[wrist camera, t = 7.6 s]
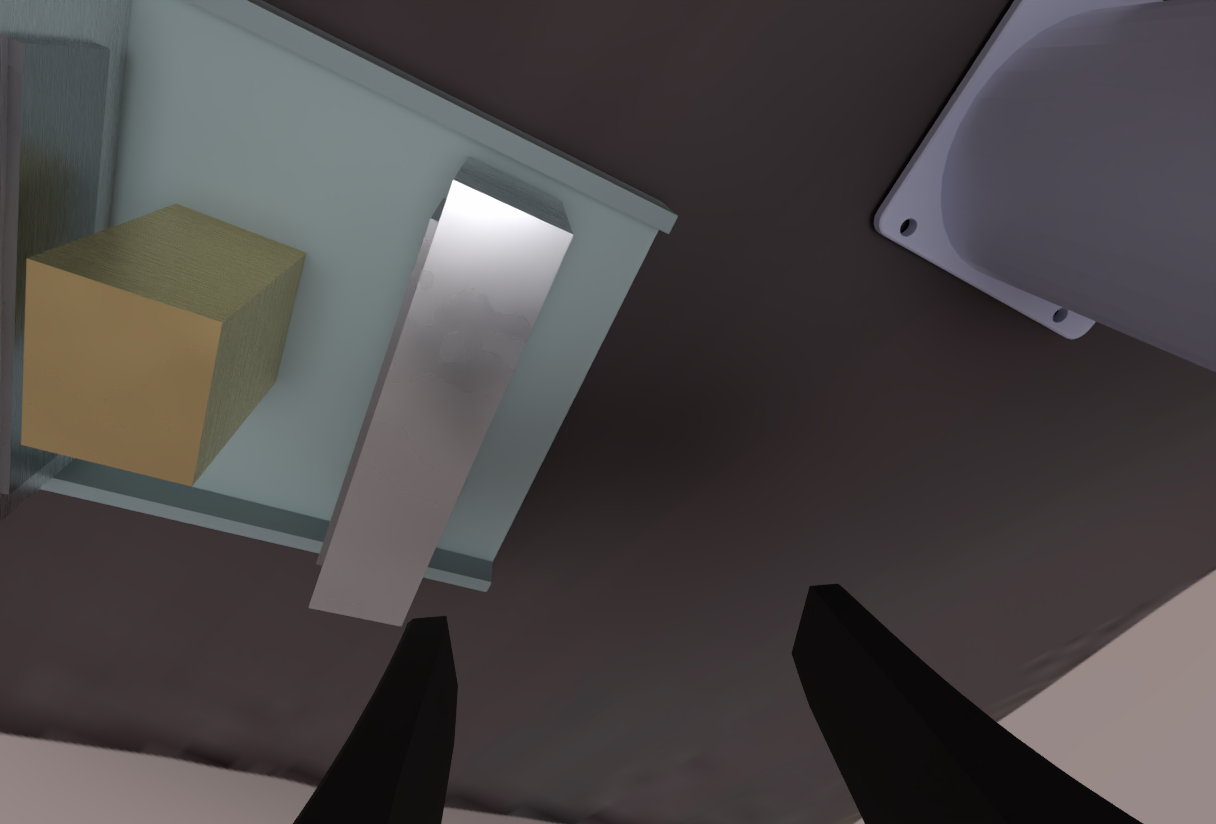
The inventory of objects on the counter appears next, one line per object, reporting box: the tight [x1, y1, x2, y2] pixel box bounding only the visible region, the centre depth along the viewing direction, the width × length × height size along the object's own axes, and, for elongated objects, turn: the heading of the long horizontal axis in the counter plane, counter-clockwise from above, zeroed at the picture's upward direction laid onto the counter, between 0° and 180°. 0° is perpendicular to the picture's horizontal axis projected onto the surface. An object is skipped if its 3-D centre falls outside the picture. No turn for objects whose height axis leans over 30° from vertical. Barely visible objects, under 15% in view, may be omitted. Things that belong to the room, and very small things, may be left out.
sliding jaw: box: [309, 157, 573, 626], centre depth 15 cm, size 3×12×4 cm, turn 154°
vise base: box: [39, 0, 678, 592], centre depth 16 cm, size 15×14×2 cm
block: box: [21, 204, 307, 486], centre depth 13 cm, size 3×4×5 cm
